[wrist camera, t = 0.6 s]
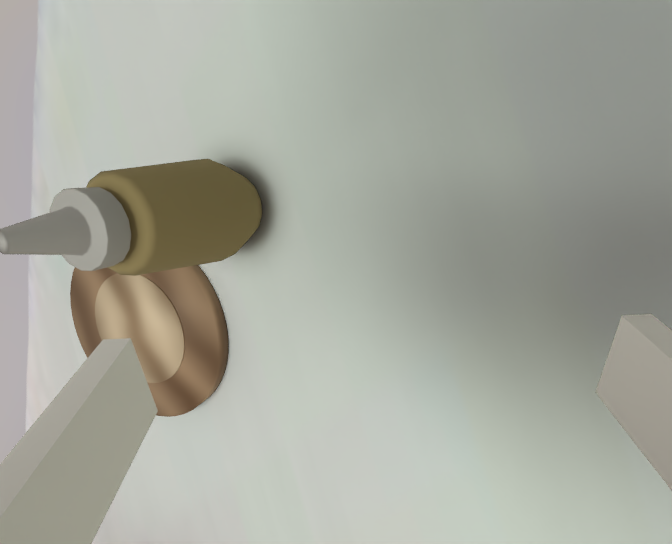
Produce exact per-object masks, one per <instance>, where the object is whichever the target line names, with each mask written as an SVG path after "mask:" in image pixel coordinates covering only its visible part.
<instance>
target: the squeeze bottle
mask: <svg viewBox="0 0 672 544" xmlns="http://www.w3.org/2000/svg"><path fill="white" fill-rule="evenodd" d="M261 216H262V206H261V199H260V197H259V195H258V192H257V190H256V188H255V186H254V185H253V184H252V183H251V182H250V181H249V180H248V179H247V178H246V177H244V176H242V175H240V174H239V173H237V172H235V171H233V170H231V169H230V168H228V167H226V166H224V165H222V164H219V163H217V162H215V161H212V160H210V159H201V160H191V161H183V162H175V163H167V164H159V165H151V166H143V167H135V168H127V169H119V170H111V171H103V172H100V173H99V174H97V175H96V176H95V177H94V178H92V179H91V180H90V181H89V182H88V185H87V187H86V188H71V189H63V190H62V191H61V192H60V193H58V194H57V195H56V196H55V197H54V200H53V202H52V205H51V207H50V213H47V214H44V215H41V216H38V217H35V218H32V219H29V220H26V221H23V222H20V223H17V224H14V225H11V226H8V227H5V228H2V229H0V252H1V253H2V254H42V255H62V256H63V257H64V258H65V260H66V261H67V262H68V263H69V264H71V265H72V266H74V267H76V268H78V269H79V270H81V271H95V270H99V269H103V268H109V269H111V270H113V271H114V272H116V273H118V274H120V275H132V276H136V275H142V274H148V273H153V272H159V271H165V270H171V269H176V268H182V267H188V266H194V265H200V264H205V263H211V262H217V261H222V260H224V259H226V258H228V257H230V256H232V255H234V254H235V253H236V252H237V251H238V250H239V249H240V248H241V247H242V246H243V245H244V244H245V243H246V242H247V241H248V239H249V238H250V237H251V236H252V235H253V234H254V232H255V231H256V230H257V228H258V227H259V225H260V220H261Z"/></svg>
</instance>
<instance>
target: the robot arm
mask: <svg viewBox="0 0 672 544" xmlns="http://www.w3.org/2000/svg"><path fill="white" fill-rule="evenodd" d="M595 393H596V394H597V395H598V396H599V398H600V399H601V400H602V402H603V403H604V404H605V405H606V407H607V408H608V409H609V411H610V412H611V413H612V414H613V416H614V417H615V418H616V419H617V421H618V422H619V423H620V425H621V426H622V427H623V428H624V430H625V431H626V432H627V434H628V435H629V436H630V437H631V439H632V440H633V441H634V443H635V444H636V445H637V446H638V448H639V449H640V450H641V452H642V453H643V454H644V455H645V457H646V458H647V459H648V461H649V462H650V463H651V464H652V466H653V467H654V468H655V470H656V471H657V472H658V473H659V475H660V476H661V477H662V479H663V480H664V481H665V482H666V484H667V485H668V486H669V487H670V489H671V490H672V330H671V329H669V328H668V327H667V326H666V325H664V324H663V323H662V322H661V321H659V320H658V319H657V318H656V317H655V316H653V315H652V314H639V315H622V316H621V319H620V322H619V325H618V328H617V331H616V334H615V336H614V339H613V342H612V345H611V348H610V351H609V354H608V357H607V360H606V363H605V366H604V368H603V371H602V374H601V377H600V380H599V383H598V386H597V389H596V392H595ZM157 412H158V410H157V407H156V405H155V402H154V399H153V397H152V394H151V391H150V389H149V386H148V383H147V381H146V378H145V375H144V372H143V370H142V367H141V364H140V362H139V359H138V356H137V354H136V351H135V348H134V346H133V343H132V340H131V338H126V339H104V340H102V341H101V343H100V344H99V345H98V346H97V347H96V349H95V350H94V351H93V352H92V353H91V355H90V356H89V357H88V358H87V360H86V361H85V362H84V363H83V364H82V366H81V367H80V368H79V369H78V370H77V372H76V373H75V374H74V375H73V377H72V378H71V379H70V380H69V381H68V383H67V384H66V385H65V386H64V387H63V389H62V390H61V391H60V392H59V394H58V395H57V396H56V397H55V398H54V400H53V401H52V402H51V403H50V404H49V406H48V407H47V408H46V409H45V411H44V412H43V413H42V414H41V415H40V417H39V418H38V419H37V420H36V421H35V423H34V424H33V425H32V426H31V428H30V429H29V430H28V431H27V432H26V434H25V435H24V436H23V437H22V439H21V440H20V441H19V442H18V443H17V445H16V446H15V447H14V448H13V449H12V451H11V452H10V453H9V454H8V455H7V457H6V458H5V459H4V460H3V462H2V463H1V464H0V544H91V543H92V541H93V539H94V537H95V535H96V533H97V531H98V529H99V527H100V525H101V523H102V521H103V519H104V517H105V515H106V513H107V511H108V509H109V507H110V505H111V503H112V501H113V499H114V497H115V495H116V493H117V491H118V489H119V487H120V485H121V483H122V481H123V479H124V477H125V475H126V473H127V471H128V469H129V467H130V465H131V463H132V461H133V459H134V457H135V455H136V453H137V451H138V449H139V447H140V445H141V443H142V441H143V439H144V437H145V435H146V433H147V431H148V429H149V427H150V425H151V423H152V421H153V419H154V417H155V416H156V414H157Z"/></svg>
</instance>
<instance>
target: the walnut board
mask: <svg viewBox="0 0 672 544" xmlns="http://www.w3.org/2000/svg"><path fill="white" fill-rule="evenodd" d="M70 295H71V309H72V316H73V321H74V325H75V329H76V332H77V335H78V338H79V340H80V343H81V345H82V348H83V350H84V352H85V354H86V356H87V358H88V357H89V356H90V355H91V353H92V352H93V351H94V350H95V349H96V347H97V346H98V345H99V344H100V343H101V341H102V340H104V339H126V338H131V340H132V343H133V346H134V348H135V351H136V354H137V356H138V359H139V362H140V364H141V367H142V370H143V372H144V375H145V378H146V381H147V383H148V386H149V389H150V391H151V394H152V397H153V399H154V402H155V405H156V407H157V410H158V412H157V414H156V415H158V416H178V415H181V414H185V413H187V412H189V411H191V410H193V409H194V408H196V407H197V406H198V405H200V404H201V403H202V402H203V401H205V400H206V399H207V398H209V397H210V396H211V395H212V393H213V392H214V391H215V390H216V389H217V387H218V385H219V384H220V382H221V380H222V377H223V375H224V373H225V369H226V365H227V359H228V333H227V326H226V321H225V317H224V313H223V310H222V307H221V305H220V302H219V299H218V297H217V295H216V293H215V291H214V289H213V287H212V285H211V283H210V282H209V280H208V278H207V277H206V275H205V274H204V273H203V271H202V270H201V269H200V267H199V266H198V265H194V266H188V267H182V268H176V269H171V270H165V271H159V272H153V273H148V274H142V275H136V276H132V275H120V274H118V273H116V272H114V271H113V270H111V269H109V268H103V269H99V270H95V271H81V270H79V269H78V268H76V267H75V269H74V272H73V276H72V281H71V292H70Z"/></svg>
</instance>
